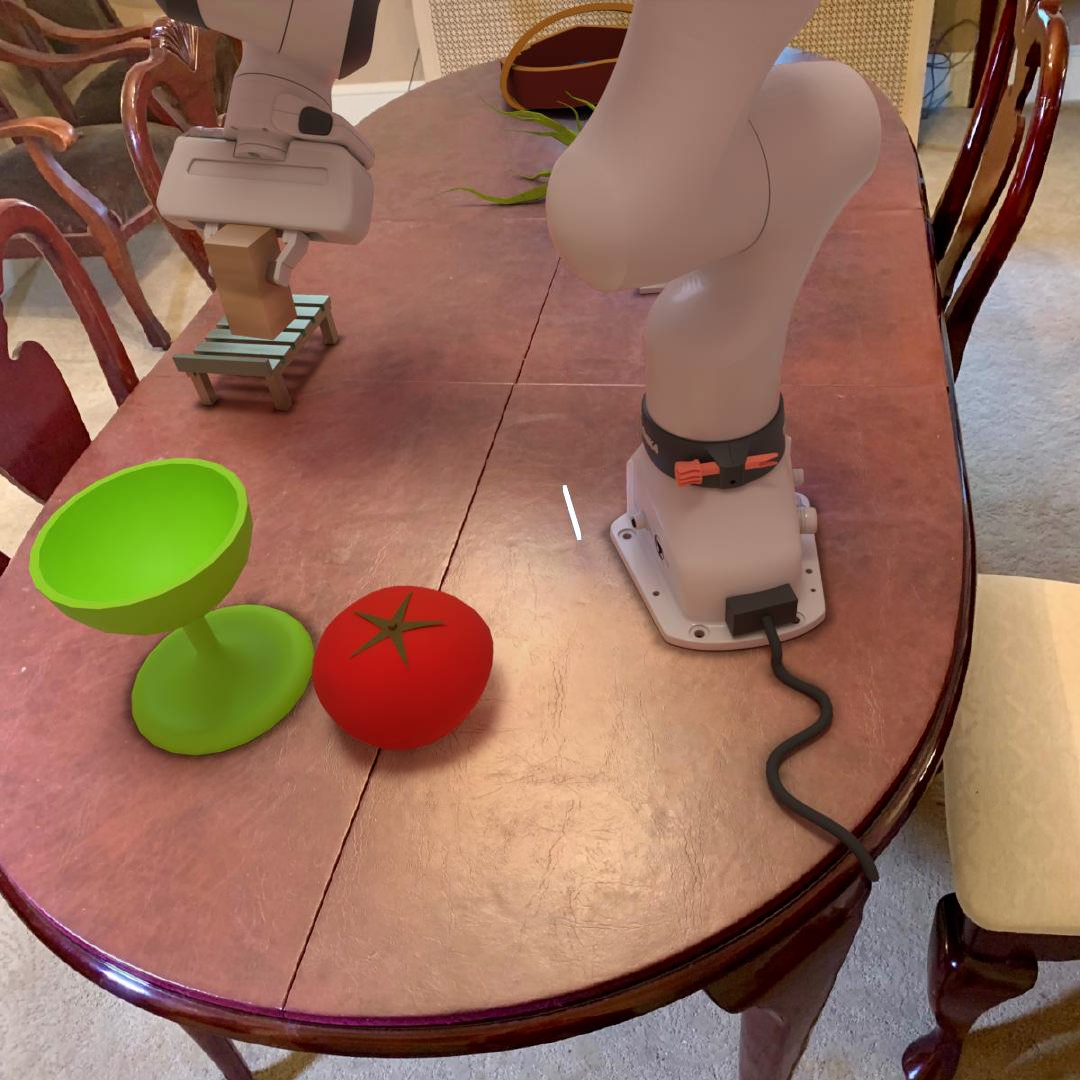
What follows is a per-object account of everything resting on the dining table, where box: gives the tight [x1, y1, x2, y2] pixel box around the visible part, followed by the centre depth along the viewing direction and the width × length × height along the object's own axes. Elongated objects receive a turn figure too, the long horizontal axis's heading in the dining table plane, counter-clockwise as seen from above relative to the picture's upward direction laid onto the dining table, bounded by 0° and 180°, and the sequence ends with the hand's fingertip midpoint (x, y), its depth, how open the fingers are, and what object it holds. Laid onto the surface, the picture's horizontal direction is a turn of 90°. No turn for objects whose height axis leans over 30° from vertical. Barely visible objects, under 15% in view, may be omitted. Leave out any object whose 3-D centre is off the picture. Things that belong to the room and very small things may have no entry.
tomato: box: [311, 585, 495, 752], centre depth 74 cm, size 14×13×10 cm
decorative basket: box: [499, 1, 634, 111], centre depth 166 cm, size 34×29×15 cm
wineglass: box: [28, 457, 315, 756], centre depth 76 cm, size 16×16×18 cm
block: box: [202, 223, 297, 340], centre depth 85 cm, size 4×4×9 cm
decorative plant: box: [430, 91, 597, 205], centre depth 138 cm, size 18×30×15 cm, turn 61°
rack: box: [171, 293, 340, 411], centre depth 113 cm, size 17×12×8 cm
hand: (248, 281), depth 84 cm, fingers closed on block, 4 cm apart
